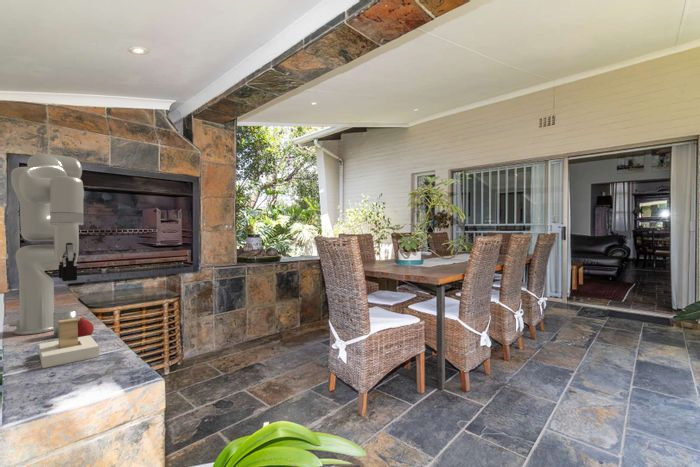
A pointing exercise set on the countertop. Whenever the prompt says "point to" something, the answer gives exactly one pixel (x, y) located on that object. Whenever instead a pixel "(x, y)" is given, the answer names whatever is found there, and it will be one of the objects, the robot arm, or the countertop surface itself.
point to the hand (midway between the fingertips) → (67, 279)
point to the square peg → (68, 333)
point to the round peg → (63, 318)
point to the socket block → (67, 352)
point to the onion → (84, 327)
